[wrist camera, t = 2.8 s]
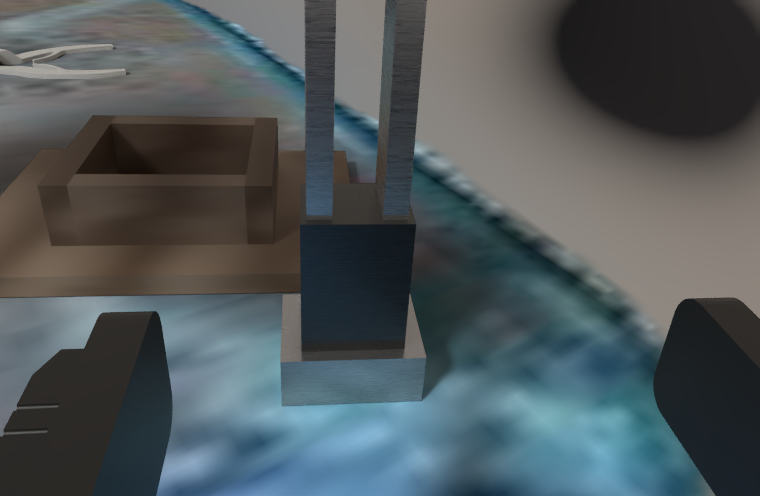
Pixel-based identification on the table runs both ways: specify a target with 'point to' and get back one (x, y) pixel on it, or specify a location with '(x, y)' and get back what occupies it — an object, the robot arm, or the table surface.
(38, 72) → the pliers
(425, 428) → the table surface
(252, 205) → the stand
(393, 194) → the tongs
